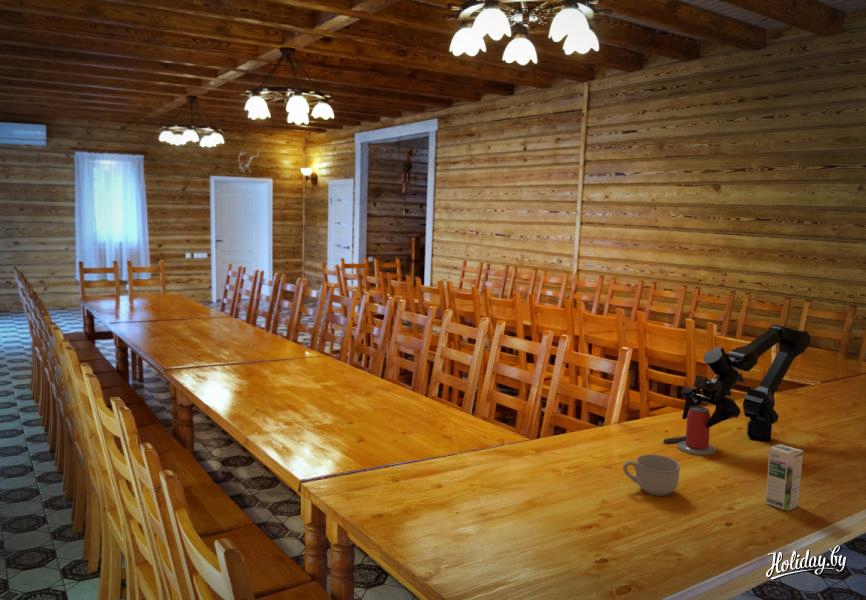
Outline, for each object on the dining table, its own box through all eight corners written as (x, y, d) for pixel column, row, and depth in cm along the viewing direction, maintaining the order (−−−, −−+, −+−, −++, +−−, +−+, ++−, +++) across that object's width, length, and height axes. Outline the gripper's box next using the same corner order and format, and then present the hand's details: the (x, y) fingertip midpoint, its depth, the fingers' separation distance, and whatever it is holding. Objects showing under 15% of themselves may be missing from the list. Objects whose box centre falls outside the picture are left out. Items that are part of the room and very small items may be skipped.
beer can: (713, 449, 202) (715, 410, 200) (695, 451, 200) (697, 412, 198) (698, 442, 208) (700, 404, 206) (680, 444, 206) (683, 406, 204)
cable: (689, 439, 214) (689, 434, 213) (692, 441, 212) (692, 436, 212) (662, 443, 210) (662, 438, 210) (665, 444, 208) (665, 439, 208)
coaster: (714, 445, 207) (714, 443, 207) (717, 457, 197) (717, 454, 197) (676, 441, 211) (676, 439, 211) (677, 452, 200) (677, 450, 200)
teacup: (678, 486, 175) (679, 457, 174) (679, 502, 165) (680, 471, 164) (623, 479, 180) (624, 450, 179) (620, 494, 169) (622, 464, 168)
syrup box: (764, 503, 165) (768, 447, 163) (776, 498, 168) (780, 442, 167) (787, 512, 160) (792, 454, 158) (799, 506, 164) (804, 449, 162)
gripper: (687, 361, 211) (658, 398, 208) (736, 373, 194) (706, 414, 191) (703, 383, 215) (676, 420, 212) (753, 397, 198) (724, 437, 195)
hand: (694, 422), depth 202 cm, fingers open, 9 cm apart
